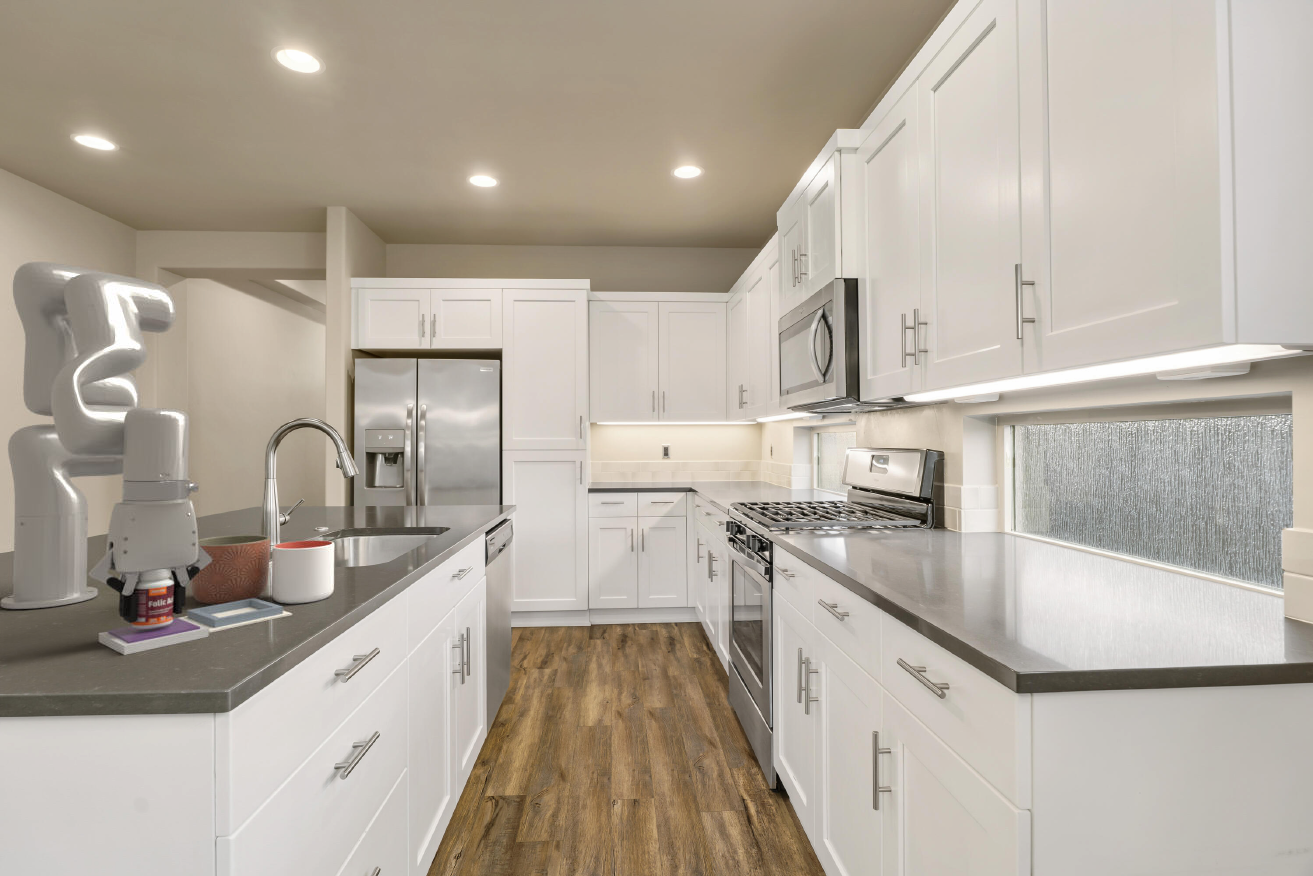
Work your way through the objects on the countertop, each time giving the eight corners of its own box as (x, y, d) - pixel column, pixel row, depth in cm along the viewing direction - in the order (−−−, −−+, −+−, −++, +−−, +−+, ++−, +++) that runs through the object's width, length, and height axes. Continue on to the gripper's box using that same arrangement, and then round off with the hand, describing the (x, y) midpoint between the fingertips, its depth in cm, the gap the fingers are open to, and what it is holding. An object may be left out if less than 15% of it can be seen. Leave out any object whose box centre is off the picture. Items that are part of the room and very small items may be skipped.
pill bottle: (150, 631, 91) (151, 572, 91) (123, 628, 92) (124, 569, 92) (181, 621, 95) (182, 565, 95) (155, 618, 96) (156, 563, 96)
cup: (273, 595, 120) (274, 542, 120) (333, 590, 125) (334, 539, 125) (269, 608, 111) (270, 550, 111) (333, 601, 116) (334, 546, 116)
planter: (192, 612, 108) (193, 547, 108) (185, 598, 117) (185, 538, 117) (276, 600, 116) (276, 540, 116) (263, 588, 125) (263, 532, 125)
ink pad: (98, 641, 92) (99, 631, 92) (180, 625, 100) (180, 615, 100) (124, 655, 86) (124, 643, 86) (208, 636, 94) (208, 626, 94)
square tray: (177, 619, 103) (177, 610, 103) (257, 604, 113) (257, 596, 113) (210, 632, 96) (210, 622, 96) (292, 615, 106) (292, 606, 106)
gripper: (210, 487, 103) (207, 600, 103) (71, 494, 88) (68, 625, 88) (231, 490, 98) (229, 608, 98) (89, 498, 84) (86, 636, 84)
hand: (153, 615), depth 93 cm, fingers closed on pill bottle, 4 cm apart
